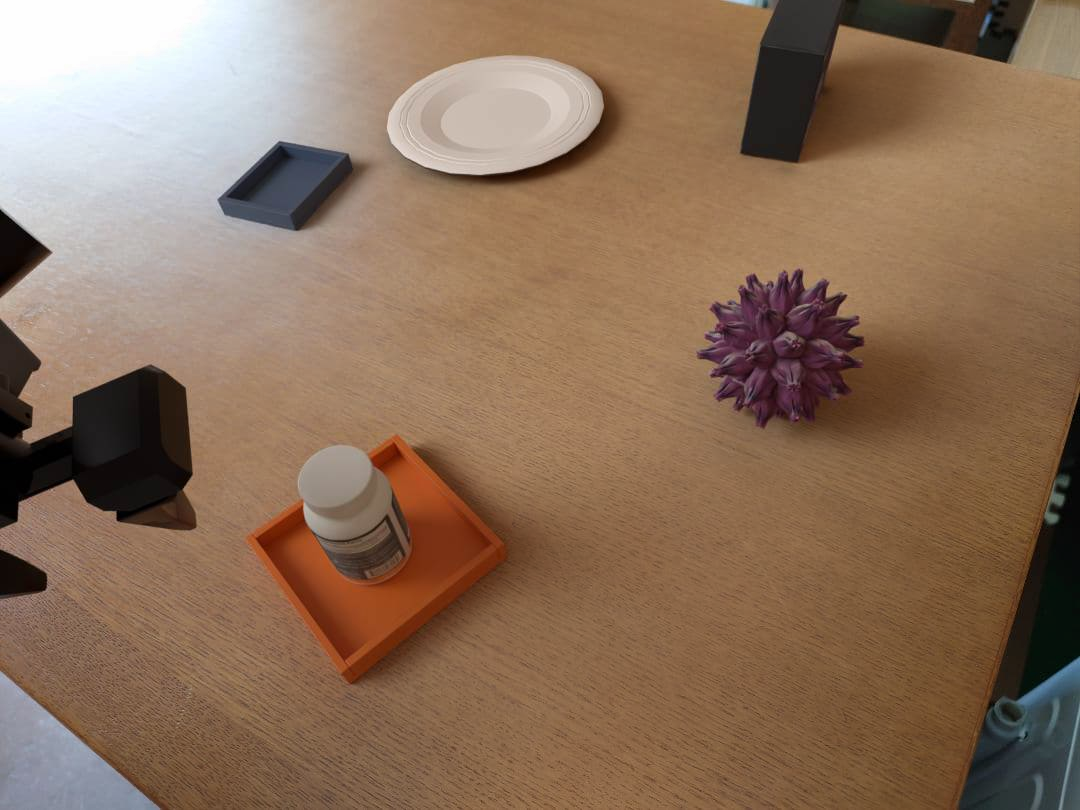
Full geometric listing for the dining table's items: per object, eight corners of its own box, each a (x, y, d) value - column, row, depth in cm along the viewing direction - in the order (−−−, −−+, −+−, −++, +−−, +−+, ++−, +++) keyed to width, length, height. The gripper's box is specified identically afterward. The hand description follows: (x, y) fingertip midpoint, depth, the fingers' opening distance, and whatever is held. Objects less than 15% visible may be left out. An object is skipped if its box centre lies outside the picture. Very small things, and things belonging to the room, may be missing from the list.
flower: (699, 457, 60) (686, 328, 66) (860, 450, 59) (833, 318, 64) (708, 388, 50) (692, 241, 55) (903, 376, 49) (867, 227, 54)
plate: (351, 171, 86) (346, 156, 85) (444, 60, 101) (441, 45, 99) (563, 203, 80) (562, 187, 78) (630, 79, 94) (630, 64, 92)
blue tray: (296, 231, 80) (289, 215, 79) (224, 215, 83) (216, 199, 82) (353, 169, 87) (348, 153, 85) (285, 155, 90) (279, 140, 88)
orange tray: (349, 685, 50) (340, 673, 48) (254, 551, 57) (244, 538, 55) (507, 557, 55) (504, 543, 53) (402, 448, 61) (396, 433, 60)
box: (802, 165, 80) (826, 52, 71) (738, 156, 82) (752, 44, 73) (829, 82, 90) (852, -28, 80) (770, 75, 92) (787, -33, 82)
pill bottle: (345, 515, 57) (302, 435, 50) (421, 518, 57) (389, 437, 49) (325, 587, 54) (275, 512, 46) (406, 590, 53) (369, 515, 45)
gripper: (60, 195, 34) (255, 376, 47) (-317, 359, 35) (-21, 492, 48) (54, 396, 28) (278, 538, 41) (-401, 588, 29) (-36, 667, 42)
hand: (118, 552), depth 43 cm, fingers open, 9 cm apart
